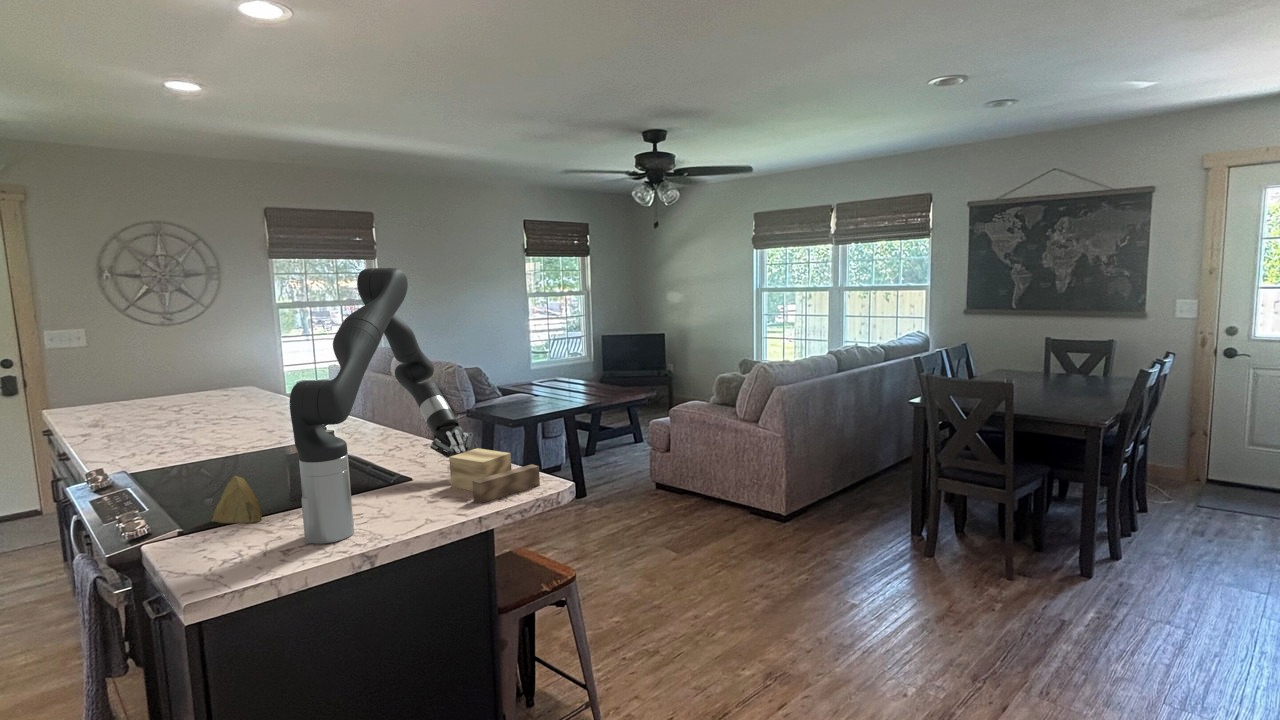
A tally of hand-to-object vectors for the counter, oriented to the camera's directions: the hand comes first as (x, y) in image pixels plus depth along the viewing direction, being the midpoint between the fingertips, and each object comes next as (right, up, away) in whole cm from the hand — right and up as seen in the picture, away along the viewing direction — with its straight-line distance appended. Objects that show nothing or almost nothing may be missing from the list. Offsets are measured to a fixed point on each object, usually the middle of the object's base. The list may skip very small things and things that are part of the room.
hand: (466, 466), depth 180 cm
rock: (-45, -9, -27) cm, 53 cm away
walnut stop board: (+13, -5, -12) cm, 18 cm away
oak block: (+5, -4, -4) cm, 8 cm away
